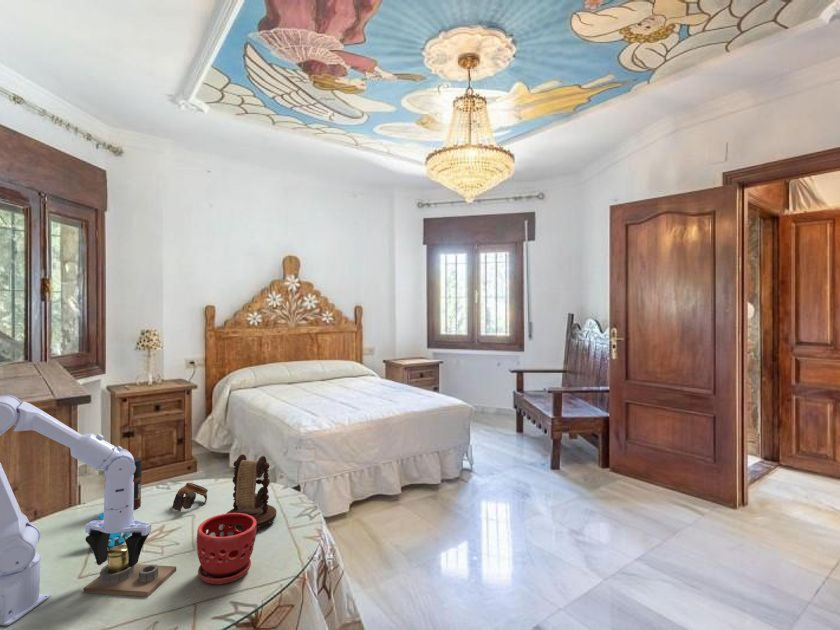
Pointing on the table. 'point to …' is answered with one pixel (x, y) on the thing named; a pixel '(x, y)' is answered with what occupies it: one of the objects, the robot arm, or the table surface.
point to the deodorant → (137, 482)
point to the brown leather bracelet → (188, 496)
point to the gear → (113, 534)
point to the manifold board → (131, 580)
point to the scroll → (252, 491)
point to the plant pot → (225, 547)
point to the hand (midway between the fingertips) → (117, 563)
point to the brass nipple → (117, 559)
